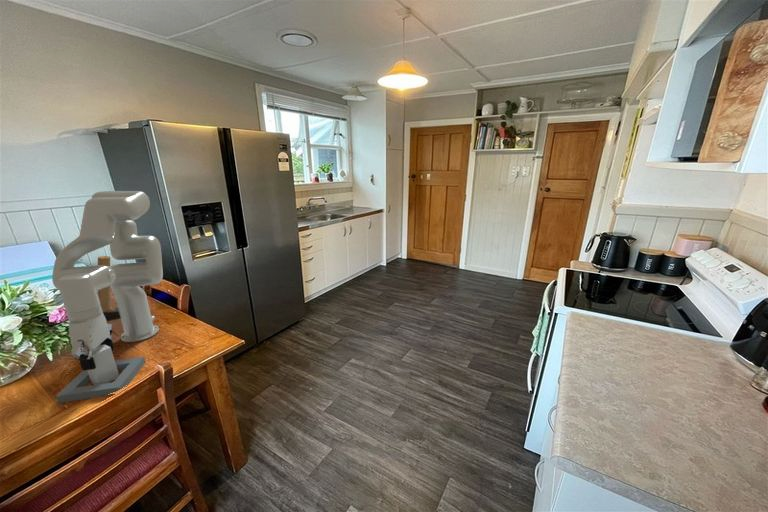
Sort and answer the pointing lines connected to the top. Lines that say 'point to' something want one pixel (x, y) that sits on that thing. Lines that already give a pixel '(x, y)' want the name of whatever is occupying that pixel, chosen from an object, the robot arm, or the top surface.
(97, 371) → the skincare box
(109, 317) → the hammer
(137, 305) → the robot arm
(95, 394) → the socket block
